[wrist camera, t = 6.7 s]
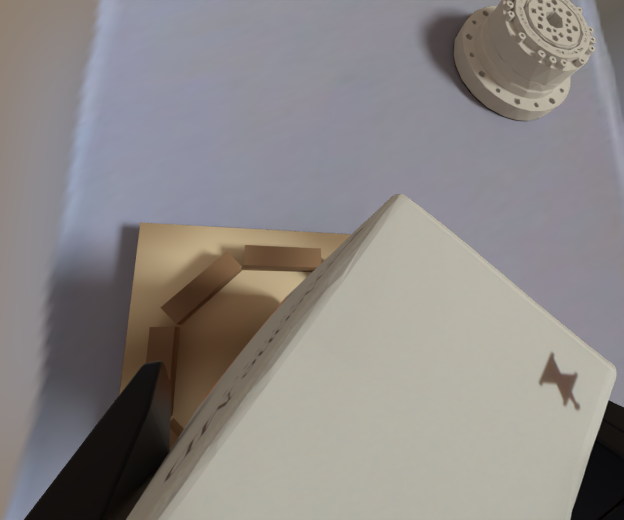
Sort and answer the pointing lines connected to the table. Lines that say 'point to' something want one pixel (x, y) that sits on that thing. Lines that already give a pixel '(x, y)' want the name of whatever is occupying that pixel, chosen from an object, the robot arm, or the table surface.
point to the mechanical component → (523, 55)
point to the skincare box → (393, 396)
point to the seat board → (209, 300)
